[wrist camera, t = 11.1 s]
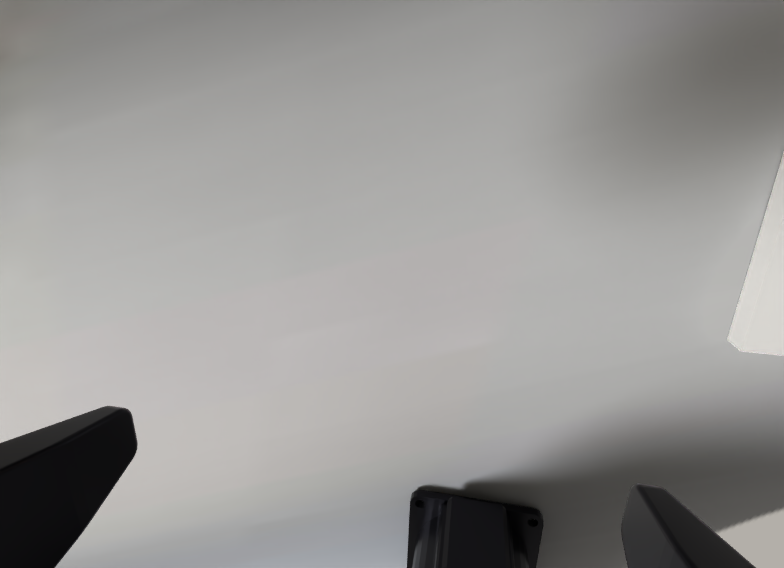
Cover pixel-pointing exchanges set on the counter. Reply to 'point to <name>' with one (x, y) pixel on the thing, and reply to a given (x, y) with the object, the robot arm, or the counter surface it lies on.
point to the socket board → (764, 284)
